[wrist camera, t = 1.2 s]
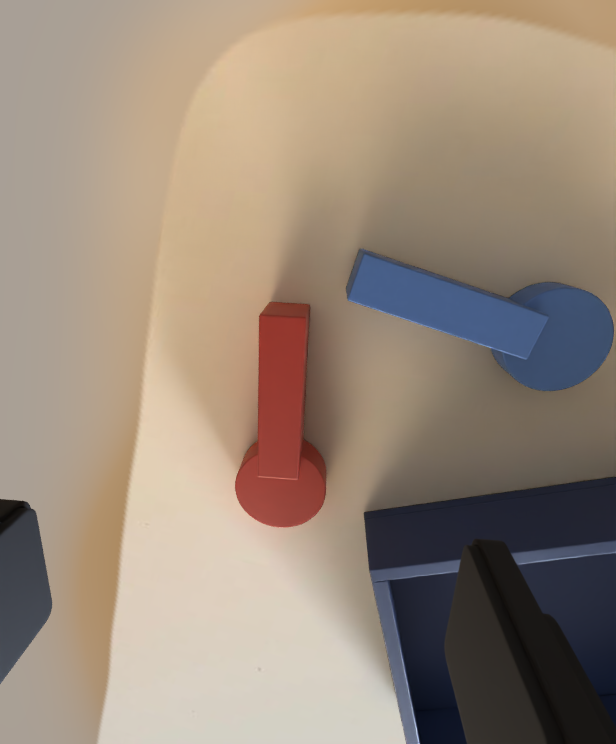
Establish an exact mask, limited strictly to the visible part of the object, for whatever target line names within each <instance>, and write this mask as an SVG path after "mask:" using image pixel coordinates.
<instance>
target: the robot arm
mask: <svg viewBox="0 0 616 744" xmlns="http://www.w3.org/2000/svg"><path fill="white" fill-rule="evenodd" d="M51 609H52V598H51V593H50V587H49V582H48V576H47V571H46V565H45V559H44V554H43V548H42V542H41V537H40V531H39V526H38V521H37V515H36V512H35V511H34V510H33V509H31V508H30V505H29V504H28V503H27V502H25V501H17V500H4V499H0V684H1V682H2V681H3V680H4V678H5V677H6V675H7V674H8V673H9V671H10V670H11V669H12V667H13V666H14V665H15V663H16V662H17V661H18V659H19V658H20V656H21V655H22V654H23V652H24V651H25V650H26V648H27V647H28V646H29V644H30V643H31V642H32V640H33V639H34V638H35V636H36V635H37V633H38V632H39V631H40V629H41V628H42V626H43V625H44V624H45V623H46V621H47V619H48V617H49V615H50V613H51ZM445 657H446V662H447V666H448V670H449V674H450V677H451V681H452V685H453V689H454V693H455V697H456V701H457V705H458V709H459V713H460V717H461V721H462V725H463V729H464V733H465V737H466V741H467V744H616V726H615V725H614V723H613V721H612V719H611V718H610V716H609V714H608V712H607V710H606V709H605V707H604V705H603V703H602V701H601V700H600V698H599V696H598V694H597V692H596V691H595V689H594V687H593V685H592V683H591V682H590V680H589V678H588V676H587V674H586V673H585V671H584V669H583V667H582V665H581V664H580V662H579V660H578V658H577V656H576V655H575V653H574V651H573V649H572V647H571V646H570V644H569V642H568V640H567V638H566V637H565V635H564V633H563V631H562V630H561V628H560V626H559V624H558V623H557V622H556V620H555V619H554V618H553V617H552V616H551V615H549V614H544V613H542V611H541V609H540V607H539V605H538V603H537V601H536V600H535V598H534V596H533V594H532V592H531V590H530V588H529V586H528V585H527V583H526V581H525V579H524V577H523V575H522V573H521V571H520V570H519V568H518V566H517V564H516V562H515V560H514V558H513V556H512V554H511V553H510V551H509V549H508V547H507V545H506V544H505V542H503V541H499V540H487V539H474V540H473V542H472V544H471V545H465V546H464V547H463V551H462V556H461V561H460V566H459V571H458V576H457V581H456V586H455V591H454V596H453V601H452V606H451V611H450V616H449V621H448V626H447V631H446V636H445Z"/></svg>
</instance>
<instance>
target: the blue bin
mask: <svg viewBox="0 0 616 744" xmlns="http://www.w3.org/2000/svg"><path fill="white" fill-rule="evenodd" d="M364 520H365V530H366V541H367V551H368V562H369V571H370V576H371V580H372V585H373V590H374V595H375V599H376V604H377V609H378V613H379V618H380V623H381V627H382V632H383V637H384V641H385V646H386V651H387V655H388V660H389V665H390V669H391V674H392V679H393V683H394V688H395V693H396V697H397V702H398V707H399V712H400V716H401V721H402V726H403V730H404V735H405V740H406V744H467V741H466V737H465V733H464V729H463V725H462V721H461V717H460V713H459V709H458V705H457V701H456V697H455V693H454V689H453V685H452V681H451V677H450V674H449V670H448V666H447V662H446V657H445V636H446V631H447V626H448V621H449V616H450V611H451V606H452V601H453V596H454V591H455V586H456V581H457V576H458V571H459V566H460V561H461V556H462V551H463V547H464V546H465V545H471V544H472V542H473V540H474V539H487V540H499V541H503V542H505V544H506V545H507V547H508V549H509V551H510V553H511V554H512V556H513V558H514V560H515V562H516V564H517V566H518V568H519V570H520V571H521V573H522V575H523V577H524V579H525V581H526V583H527V585H528V586H529V588H530V590H531V592H532V594H533V596H534V598H535V600H536V601H537V603H538V605H539V607H540V609H541V611H542V613H544V614H549V615H551V616H552V617H553V618H554V619H555V620H556V622H557V623H558V624H559V626H560V628H561V630H562V631H563V633H564V635H565V637H566V638H567V640H568V642H569V644H570V646H571V647H572V649H573V651H574V653H575V655H576V656H577V658H578V660H579V662H580V664H581V665H582V667H583V669H584V671H585V673H586V674H587V676H588V678H589V680H590V682H591V683H592V685H593V687H594V689H595V691H596V692H597V694H598V696H599V698H600V700H601V701H602V703H603V705H604V707H605V709H606V710H607V712H608V714H609V716H610V718H611V719H612V721H613V723H614V725H615V726H616V477H612V478H604V479H597V480H590V481H583V482H576V483H569V484H562V485H555V486H548V487H541V488H533V489H526V490H519V491H512V492H505V493H498V494H491V495H484V496H477V497H470V498H463V499H455V500H448V501H441V502H434V503H427V504H420V505H413V506H406V507H399V508H392V509H384V510H377V511H370V512H364Z"/></svg>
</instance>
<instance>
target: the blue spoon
mask: <svg viewBox="0 0 616 744" xmlns="http://www.w3.org/2000/svg"><path fill="white" fill-rule="evenodd" d="M346 293H347V299H348V301H351V302H354V303H357V304H360V305H363V306H366V307H369V308H372V309H375V310H378V311H381V312H384V313H387V314H390V315H393V316H396V317H399V318H402V319H405V320H408V321H411V322H414V323H417V324H420V325H423V326H426V327H429V328H432V329H435V330H438V331H441V332H444V333H447V334H450V335H453V336H456V337H459V338H462V339H465V340H468V341H471V342H474V343H477V344H480V345H483V346H486V347H489V348H491V351H492V354H493V356H494V358H495V360H496V361H497V362H498V364H499V365H500V366H501V367H502V368H503V369H504V370H505V371H506V372H508V373H509V374H510V375H511V376H512V377H513V378H514V379H515V380H517V381H518V382H519V383H521V384H523V385H524V386H526V387H529V388H532V389H535V390H541V391H556V390H562V389H566V388H569V387H572V386H574V385H576V384H579V383H580V382H582V381H584V380H585V379H587V378H588V377H590V376H591V375H592V374H593V373H594V372H595V371H596V370H597V369H598V368H599V367H600V366H601V365H602V363H603V362H604V360H605V359H606V357H607V355H608V353H609V351H610V349H611V346H612V342H613V336H614V326H613V320H612V317H611V314H610V312H609V310H608V308H607V307H606V305H605V304H604V303H603V302H602V301H601V300H600V299H599V298H598V297H597V296H595V295H594V294H592V293H590V292H588V291H585V290H582V289H579V288H576V287H572V286H569V285H565V284H561V283H555V282H544V283H537V284H534V285H530V286H528V287H525V288H523V289H521V290H519V291H518V292H516V293H515V294H513V295H512V296H511V297H510V298H506V297H503V296H500V295H497V294H494V293H491V292H488V291H485V290H482V289H479V288H477V287H474V286H471V285H468V284H465V283H462V282H459V281H456V280H453V279H450V278H447V277H444V276H441V275H438V274H435V273H432V272H429V271H426V270H423V269H421V268H418V267H415V266H412V265H409V264H406V263H403V262H400V261H397V260H394V259H391V258H388V257H385V256H382V255H379V254H376V253H373V252H370V251H367V250H364V249H359V252H358V255H357V258H356V260H355V263H354V266H353V269H352V272H351V275H350V278H349V281H348V283H347V286H346Z"/></svg>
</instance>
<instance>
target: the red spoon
mask: <svg viewBox="0 0 616 744" xmlns="http://www.w3.org/2000/svg"><path fill="white" fill-rule="evenodd" d="M309 317H310V305H309V304H297V303H280V302H269V304H268V305H267V306H266V307H265V309H264V310H263V311H262V313H261V314H260V316H259V388H258V441H257V442H256V443H254V444H253V445H252V446H251V447H250V448H249V449H248V451H247V452H246V454H245V456H244V458H243V461H242V463H241V466H240V469H239V471H238V474H237V477H236V481H235V490H236V495H237V498H238V501H239V503H240V504H241V506H242V508H243V509H244V510H245V511H246V512H247V513H248V514H249V515H250V516H251V517H252V518H254V519H255V520H257V521H259V522H261V523H263V524H266V525H269V526H273V527H293V526H297V525H300V524H303V523H305V522H307V521H308V520H310V519H311V518H312V517H314V516H315V515H316V514H317V513H318V511H319V510H320V509H321V507H322V505H323V503H324V500H325V495H326V466H325V463H324V460H323V458H322V456H321V455H320V453H319V452H318V451H317V449H316V448H315V447H314V446H312V445H311V444H310V443H308V442H307V441H305V440H303V436H304V417H305V397H306V377H307V357H308V337H309Z"/></svg>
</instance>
